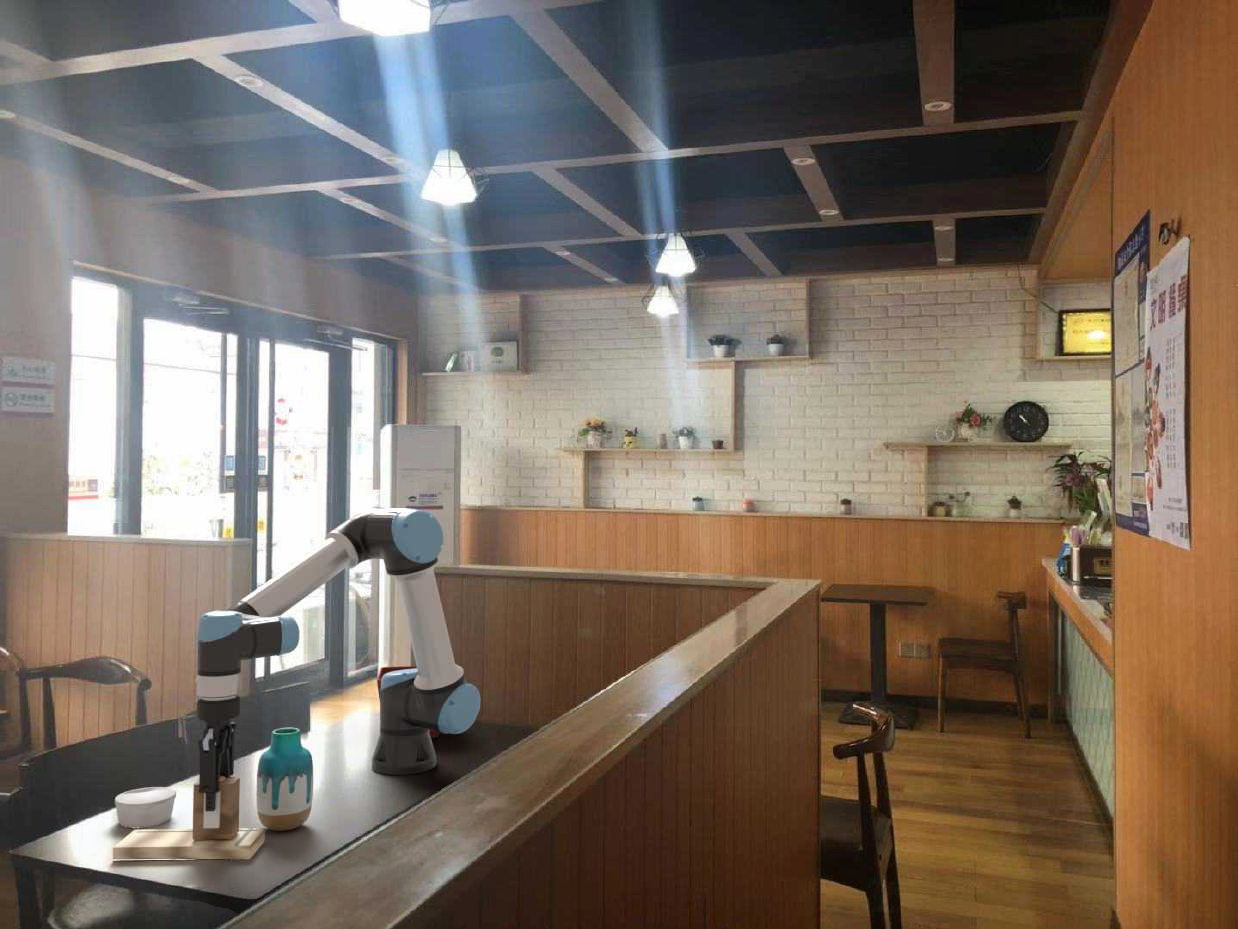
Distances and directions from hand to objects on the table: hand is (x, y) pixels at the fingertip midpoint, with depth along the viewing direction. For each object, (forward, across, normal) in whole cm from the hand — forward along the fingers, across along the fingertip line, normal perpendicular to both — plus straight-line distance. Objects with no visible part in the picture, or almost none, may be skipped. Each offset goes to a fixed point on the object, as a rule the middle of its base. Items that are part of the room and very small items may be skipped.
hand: (216, 822), depth 180 cm
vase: (+5, -11, +9) cm, 16 cm away
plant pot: (+5, -84, +24) cm, 88 cm away
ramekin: (+6, -17, -19) cm, 26 cm away
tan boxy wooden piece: (+2, -2, 0) cm, 3 cm away
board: (+5, 0, -4) cm, 7 cm away
